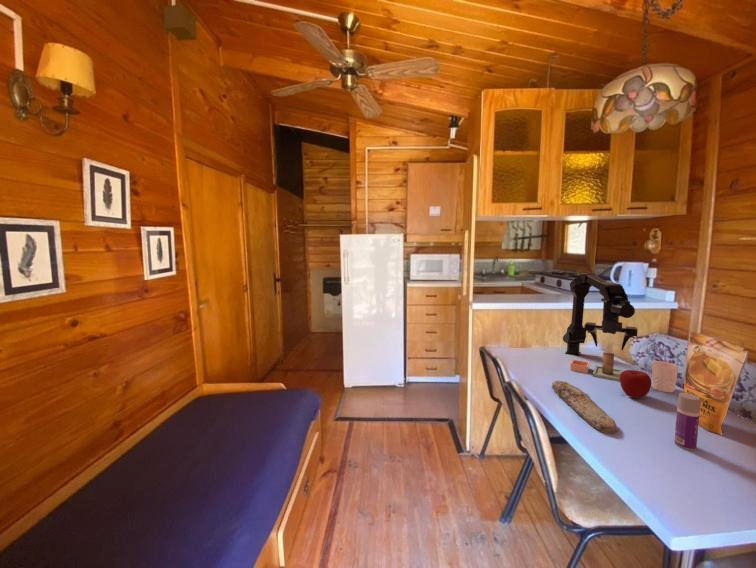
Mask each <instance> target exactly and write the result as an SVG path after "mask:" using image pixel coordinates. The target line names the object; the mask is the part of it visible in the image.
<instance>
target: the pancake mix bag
mask: <svg viewBox="0 0 756 568" xmlns="http://www.w3.org/2000/svg"><path fill="white" fill-rule="evenodd" d="M687 334H688V335H687V336H688V337H687V350H686V357H685V366H684V380H683V381H684V382H683V383H684V386H683V393H689V394H693V395H696V396H698V397H700V413H699V425H698V427H699V426H700V428H702V429H704V430H706V431H708V432H710V433H714V434H717V435H720V436H723V434H724V431H723V428H722V427H723V423H724V420H725V417H726V415H727V412H728V409H729V406H730V404H731V400H732V399H733V396H734V393H735V390H736V387H737V386H738V383H739V380H740V378H741V377H740V376H741V375H742V372H743V370H744V368H745V365H746V364H747V362H748V358H749V351H748V350H747V349H746V348H745V347H743V346H742V345H739V344H737V343H734V342H729V341H725V340H722V339H719V338H717V337H714V336H711V335H707V334H704V333H702V332H697V331H689V332H687Z"/></svg>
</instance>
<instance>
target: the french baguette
mask: <svg viewBox="0 0 756 568" xmlns="http://www.w3.org/2000/svg"><path fill="white" fill-rule="evenodd" d="M551 387H552V388H551V389H553V391H555V393H556V394H557V395H558V396H559V399H560V400H562V401H564V402H565V404H567V405H568V406H569V407H571V409H573V411H574V412H575V413H577V414H578V415H579V416H580V417H581V418H582V419H583V420H584V421H585V422H586V423H587V424H589V425H590V426H591V427H592V428H595V429H596V430H598V431H600V432H601V433H605V434H609V435H611V434H612V435H614V434H616V433H617V432H618V426H617V424H616V422H615V421H614V419H613V418H612V417H611V416H610V415H608V414H607V413H606V411H605V410H603V408H602V407H600V406H599V405H598V404H597V403H596V402H595V401H593V400H592V399H591V397H590V395H589V394H588V393H586V392H585V391H583V390H581V389H580V388H579V387H577V386H575V385H572V384H571V383H569V382H567V381H564V380H555V381H554V382H552V383H551Z"/></svg>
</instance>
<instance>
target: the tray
mask: <svg viewBox="0 0 756 568" xmlns="http://www.w3.org/2000/svg"><path fill="white" fill-rule="evenodd" d="M622 372H623V370H622V369H618V368H613V375H606V374H603V373H602V365H601V366H600V365H595V366H594V369H593V371H592V377H594V378H600V379H604V380H605V379H606V380H610V381H615V382H620V374H621V373H622Z"/></svg>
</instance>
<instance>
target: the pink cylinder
mask: <svg viewBox="0 0 756 568" xmlns="http://www.w3.org/2000/svg"><path fill="white" fill-rule="evenodd" d="M678 372H679V366H678V365H676V364H674V363H672V362H668V361H661V360H660V361H658V360H655V361H652V362H651V382H652V383H651V388H653V389H654V390H656V391H659V392H662V393H663V392H664V393H674V392H675V391H676V389H675V388H676V384H677V378H678Z"/></svg>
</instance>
